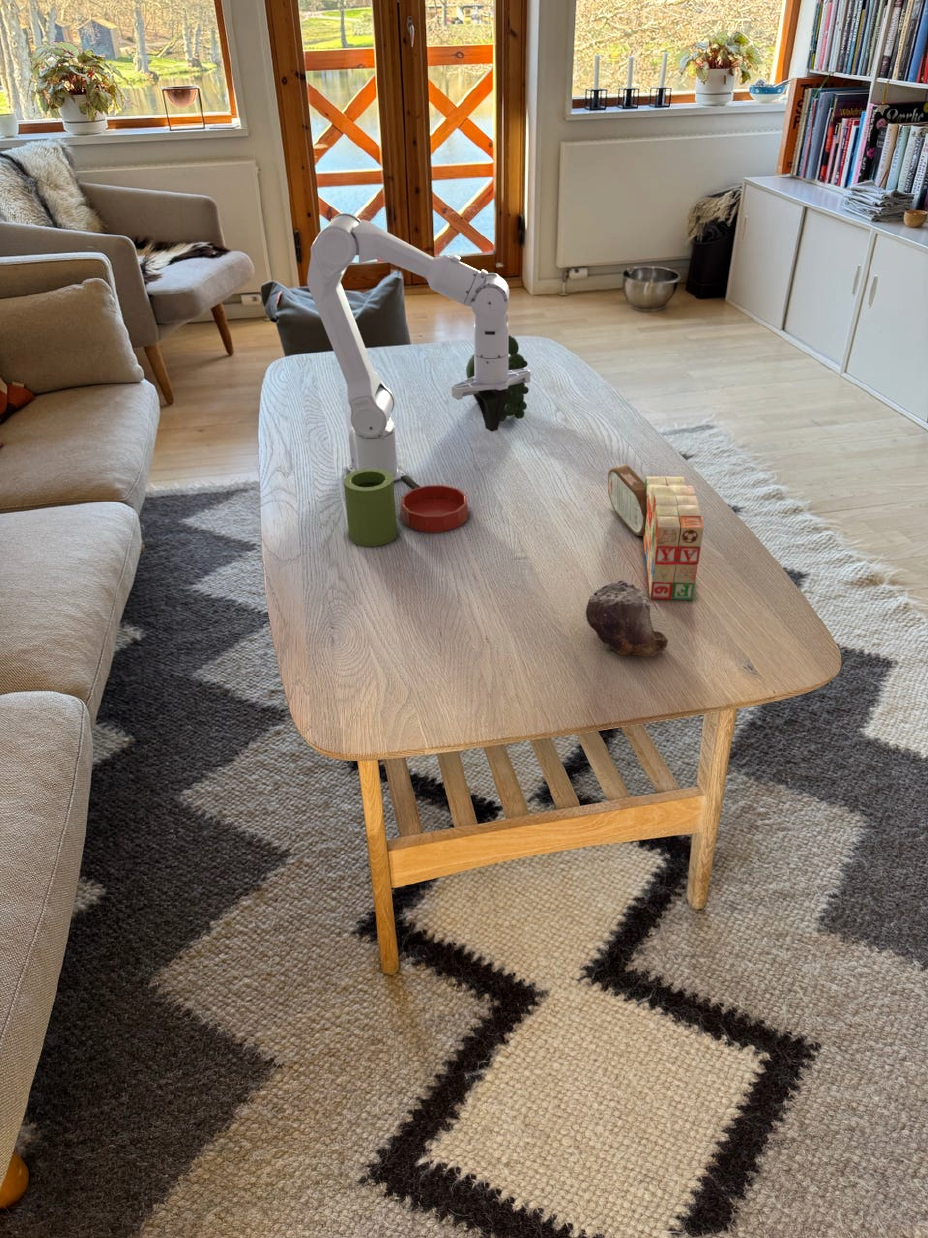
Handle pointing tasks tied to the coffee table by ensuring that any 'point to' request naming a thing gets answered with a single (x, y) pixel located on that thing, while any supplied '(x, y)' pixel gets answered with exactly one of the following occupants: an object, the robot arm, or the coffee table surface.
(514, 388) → the toy figurine
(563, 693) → the coffee table surface
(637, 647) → the rock
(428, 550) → the coffee table surface
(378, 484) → the crock
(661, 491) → the stack of blocks
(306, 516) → the coffee table surface
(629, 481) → the tin
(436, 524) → the pan
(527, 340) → the coffee table surface
